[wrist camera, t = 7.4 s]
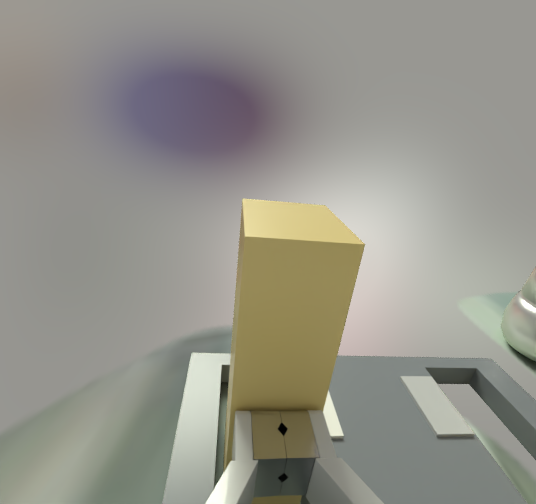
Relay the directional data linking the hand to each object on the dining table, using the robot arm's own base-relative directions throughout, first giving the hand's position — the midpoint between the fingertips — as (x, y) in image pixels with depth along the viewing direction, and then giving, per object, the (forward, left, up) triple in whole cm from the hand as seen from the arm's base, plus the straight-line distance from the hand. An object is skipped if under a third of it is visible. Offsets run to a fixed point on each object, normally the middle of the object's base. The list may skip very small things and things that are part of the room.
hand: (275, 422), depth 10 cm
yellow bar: (-1, -2, -7) cm, 7 cm away
